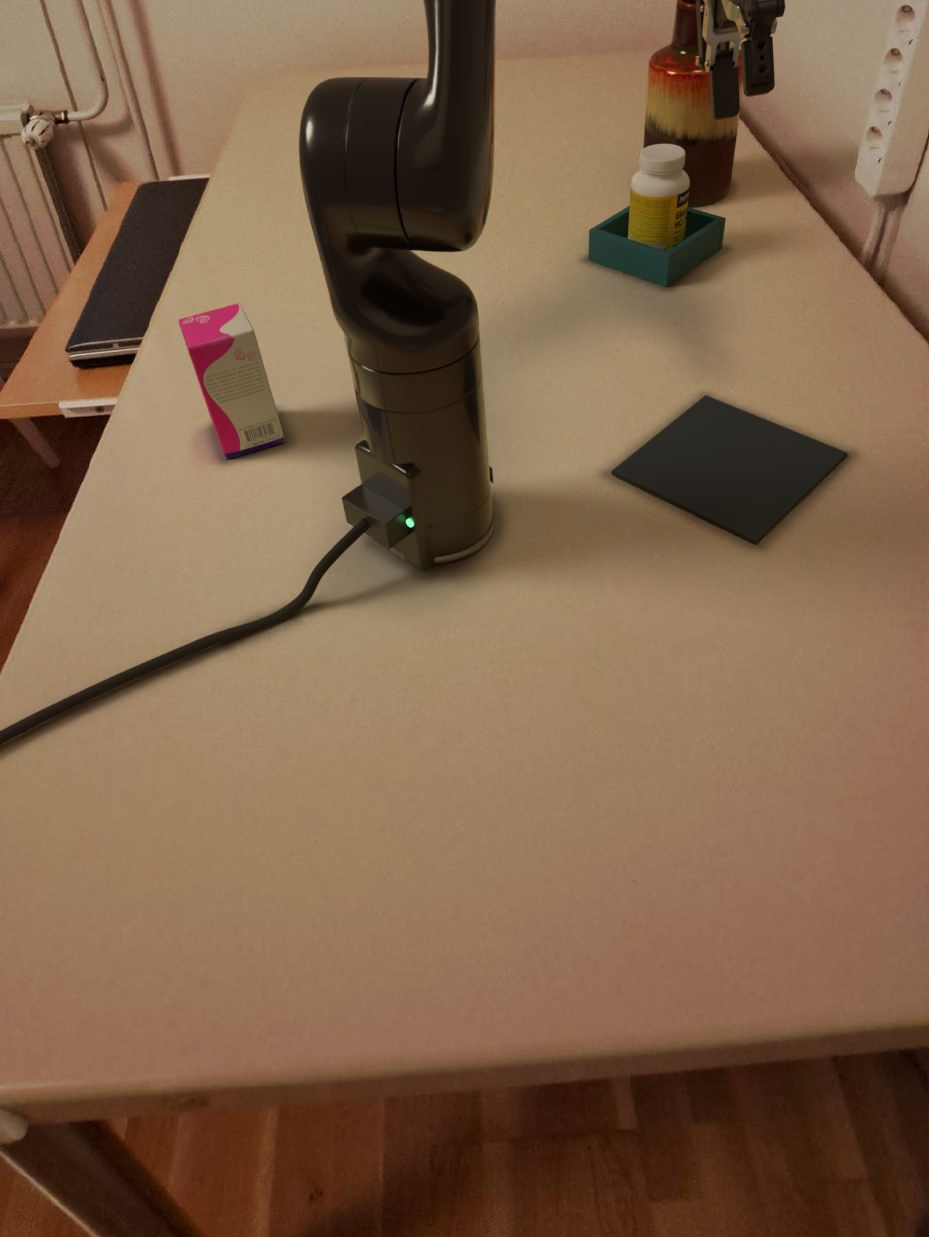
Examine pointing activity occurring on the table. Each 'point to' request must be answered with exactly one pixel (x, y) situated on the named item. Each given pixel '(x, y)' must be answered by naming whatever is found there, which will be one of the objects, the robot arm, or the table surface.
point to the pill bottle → (659, 197)
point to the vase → (690, 111)
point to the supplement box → (232, 379)
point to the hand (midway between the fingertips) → (742, 106)
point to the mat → (730, 467)
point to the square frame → (650, 261)
